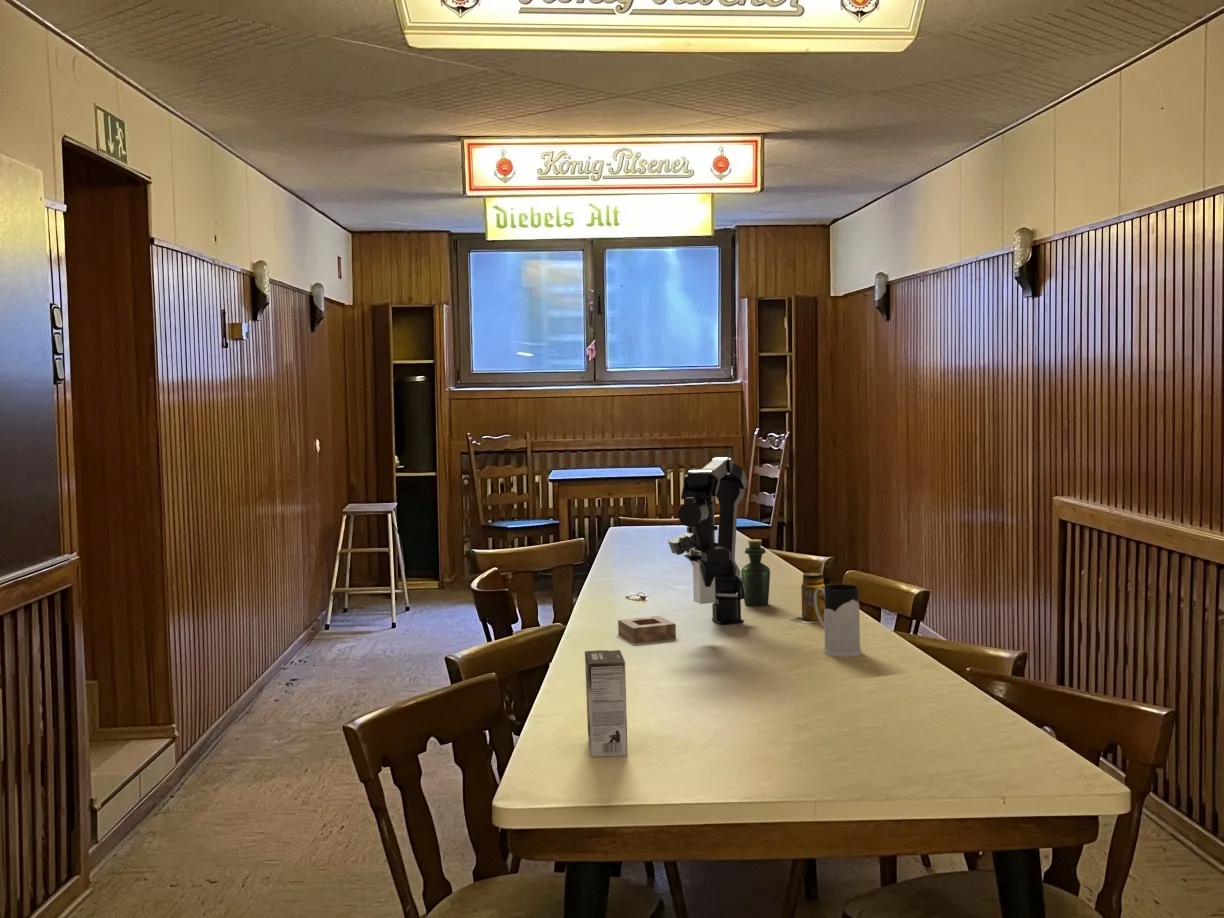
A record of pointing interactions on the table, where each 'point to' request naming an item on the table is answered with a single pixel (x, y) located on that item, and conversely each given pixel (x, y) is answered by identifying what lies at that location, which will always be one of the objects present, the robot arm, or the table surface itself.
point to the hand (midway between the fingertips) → (704, 585)
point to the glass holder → (840, 620)
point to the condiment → (811, 598)
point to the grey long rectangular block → (702, 586)
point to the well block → (646, 629)
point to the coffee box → (606, 703)
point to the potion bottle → (756, 576)
